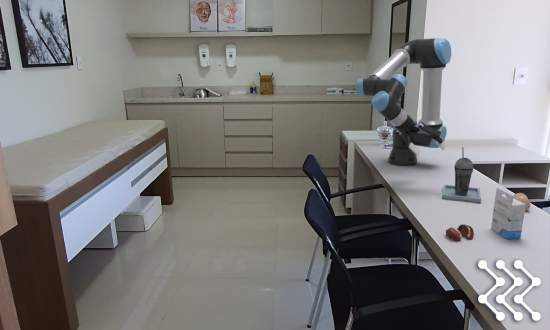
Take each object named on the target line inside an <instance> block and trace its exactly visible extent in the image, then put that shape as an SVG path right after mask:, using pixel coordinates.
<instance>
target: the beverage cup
mask: <svg viewBox="0 0 550 330" xmlns="http://www.w3.org/2000/svg"><path fill="white" fill-rule="evenodd" d="M464 151H465V150H464V146H463V147H462V148H461V153H462V157H461V158H459V159H457V160H456V162H455V163H454V166H453V167H454V186H455V194H456V195H460V196H466V195H467V193H468V189H469V187H470V183H471V178H472V174H473V171H474V169H475V168H474V163H473V161H472V160H471V159H470V158H468V157H465V156H464V155H465V153H464Z"/></svg>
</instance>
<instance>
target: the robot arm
mask: <svg viewBox="0 0 550 330" xmlns="http://www.w3.org/2000/svg"><path fill="white" fill-rule="evenodd" d="M451 58H452V46H451V43H450V41H449V40H448V39H446V38H442V37H441V38H440V37H434V38H421V39H420V38H417V39H411V40H409V41H407V42H405V43H403V44H402V45H400V46H398V47H397V48H396V49H395V50H394V51H393V52H392V54H391V56H390V57H389V58H388V59H387V60H385V61H384V62H383V63H382V64H381V65H380V66H378V68H377V69H375V70H374V71H373V72H372V73H371V74H369V76H368V77H366V78H364V77H363V78H358V79H357V81H356V83H355V86H354V88H355V93H356V94H357V95H358V96H364V97H372V99H371V101H370V102H371V105H372V107H373V108H374V109H375V110H376V111H377V112H378V113H379V114H380V115H381V116H383V117H384V119H385V120H387V121H388V122H389V123H390V124H391V126H393V131H392V132H393V133H392V134H393V135H392V149H391V150H390V153H389V156H388V163H389V164H392V165H395V166H406V167H407V166H415V165H417V164H418V157H419V156H420V154H421V150H420V148H418V147H423V148H429V149H431V148H432V149H439V148H440V149H441V150H442V151H444V150H445V149H446V146H447V144H446V143H445V140H446V136H447V127H446V126H445V125H444V124H443V120H441V117H440V116H441V100H442V84H443V83H442V81H443V70H444V69H445V68H446V66H447V64H449V63H450V61H451ZM412 64H414V65H415V64H417V65H420V66H419V67H420V68H419V69H421V71H422V72H423V74H422V75H423V76H422V97H421V98H422V99H421V100H422V101H421V118H420V119H419V120H418V121H417V120H416V119H413V118H412V117H411V116H410V115H409V114H408V113H407V112H406V111H405V110H404V109H403V108H402V107H401V106H400V105H399V104H398V103H399V101H400V99H401V97H402V96H403V94H404V92H405V90H406V88H407V85H408V79H407V77H406V76H404V75H403V74H399V73H398V72H399V71H400V70H402V68H406V67H407V66H409V65H412ZM417 156H418V157H417Z"/></svg>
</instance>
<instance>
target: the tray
mask: <svg viewBox="0 0 550 330" xmlns="http://www.w3.org/2000/svg"><path fill="white" fill-rule="evenodd" d="M442 188H443V189H442V190H443V191H442V200H447V201H449V200H451V201H458V202H467V203H475V204H481V202H482V196H481V190H480V188H479V187H472V186H471V187H470V186H469V189H468V193H467V195H466V196H460V195H456V194H455V185H454V184H453V185H451V184H443V187H442Z"/></svg>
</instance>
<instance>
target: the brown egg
mask: <svg viewBox="0 0 550 330" xmlns="http://www.w3.org/2000/svg"><path fill="white" fill-rule="evenodd" d="M512 196H513V198H514V199H516V200H518V201H520V202H522V203H524V204H526V206H525V212H526V211H528V210H529V209H530V208H531V203H530V200H529V199H528V196H527V195H526V194H524V193H522V192H517V193H515V194H514V195H512Z"/></svg>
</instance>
